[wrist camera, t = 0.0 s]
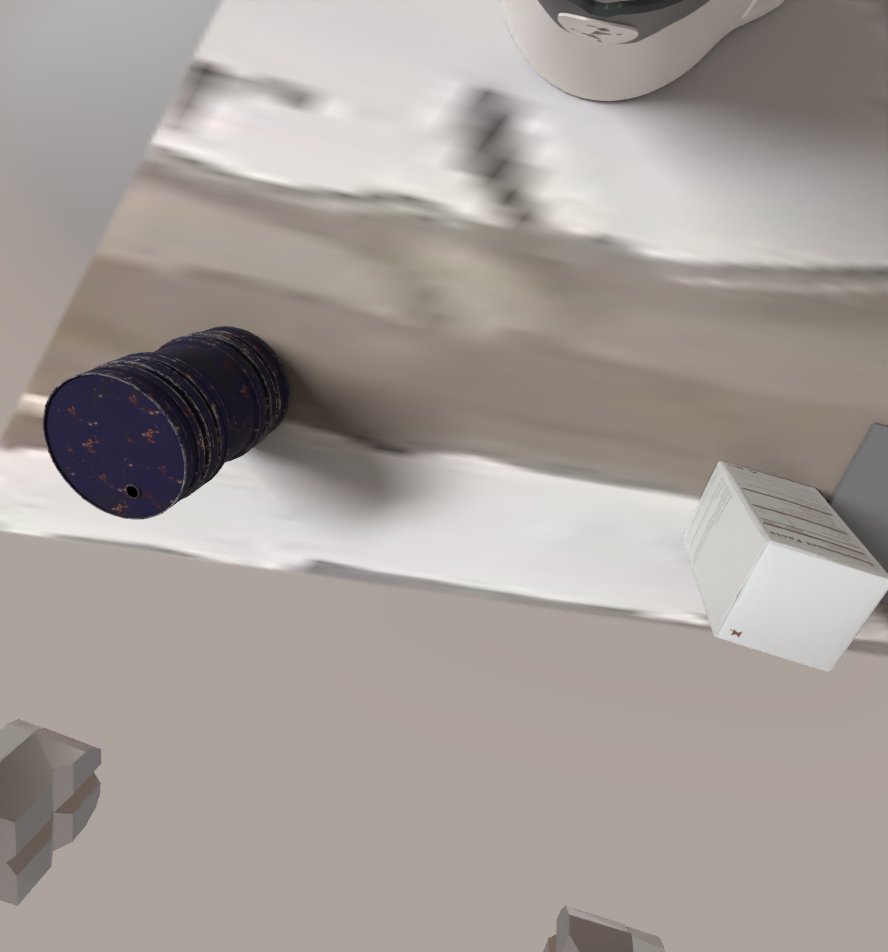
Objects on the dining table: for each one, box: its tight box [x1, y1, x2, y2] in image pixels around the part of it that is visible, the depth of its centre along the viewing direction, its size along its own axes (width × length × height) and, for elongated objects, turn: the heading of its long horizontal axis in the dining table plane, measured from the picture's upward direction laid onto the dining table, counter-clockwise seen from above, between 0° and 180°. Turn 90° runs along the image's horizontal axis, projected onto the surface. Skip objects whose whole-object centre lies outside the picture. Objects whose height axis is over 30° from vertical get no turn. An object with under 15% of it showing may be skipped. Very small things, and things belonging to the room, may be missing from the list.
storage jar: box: [43, 326, 290, 519], centre depth 44 cm, size 10×10×15 cm
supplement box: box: [682, 461, 888, 672], centre depth 41 cm, size 7×7×13 cm
